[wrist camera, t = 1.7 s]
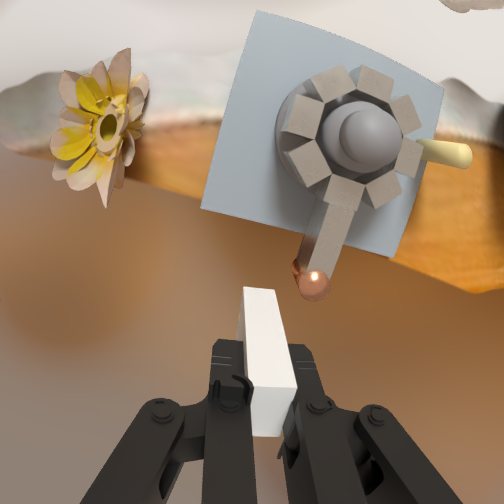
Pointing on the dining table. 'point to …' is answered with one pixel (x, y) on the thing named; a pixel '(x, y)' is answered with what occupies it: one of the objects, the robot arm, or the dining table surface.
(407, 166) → the grey gear lever
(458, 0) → the jar
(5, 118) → the dining table surface
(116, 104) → the decorative flower
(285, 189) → the base
